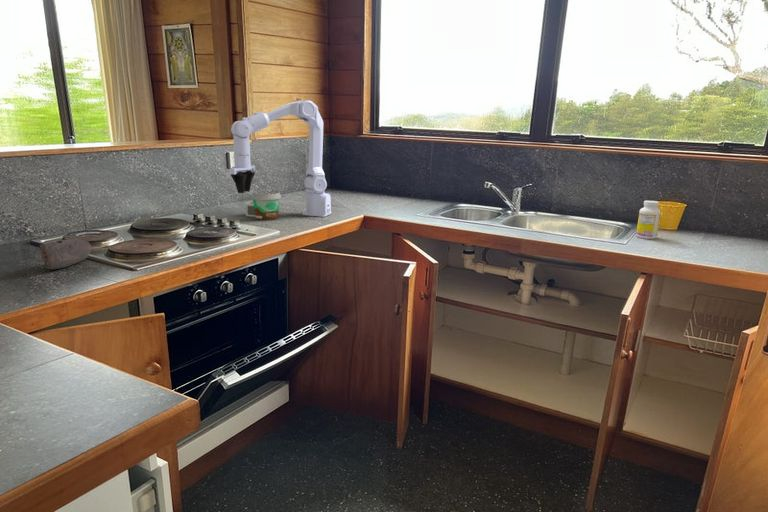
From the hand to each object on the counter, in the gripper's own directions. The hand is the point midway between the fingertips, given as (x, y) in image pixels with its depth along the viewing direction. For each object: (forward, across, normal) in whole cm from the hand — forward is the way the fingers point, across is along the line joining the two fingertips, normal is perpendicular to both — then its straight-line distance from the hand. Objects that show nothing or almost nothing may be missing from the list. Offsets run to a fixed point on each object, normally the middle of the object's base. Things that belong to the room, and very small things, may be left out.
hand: (243, 192), depth 194 cm
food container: (+11, -5, +8) cm, 14 cm away
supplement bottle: (+11, -27, +143) cm, 146 cm away
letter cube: (+10, -9, -1) cm, 14 cm away
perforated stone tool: (+11, +69, -11) cm, 71 cm away
